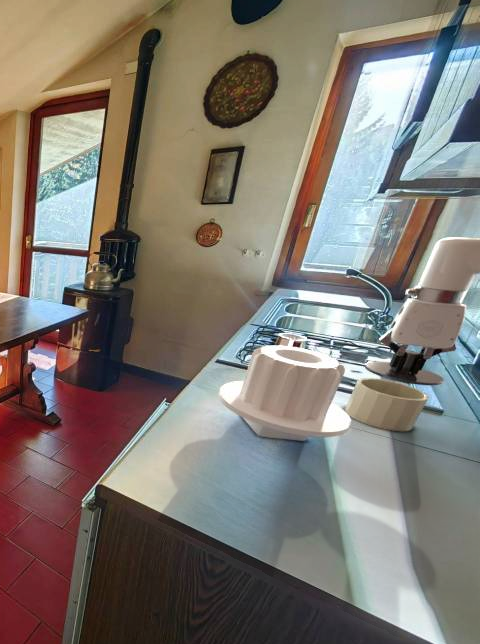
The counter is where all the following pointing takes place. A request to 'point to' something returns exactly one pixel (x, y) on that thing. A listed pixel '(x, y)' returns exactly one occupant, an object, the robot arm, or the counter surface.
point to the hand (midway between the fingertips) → (403, 370)
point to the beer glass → (291, 340)
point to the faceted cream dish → (386, 404)
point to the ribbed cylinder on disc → (289, 394)
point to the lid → (405, 371)
